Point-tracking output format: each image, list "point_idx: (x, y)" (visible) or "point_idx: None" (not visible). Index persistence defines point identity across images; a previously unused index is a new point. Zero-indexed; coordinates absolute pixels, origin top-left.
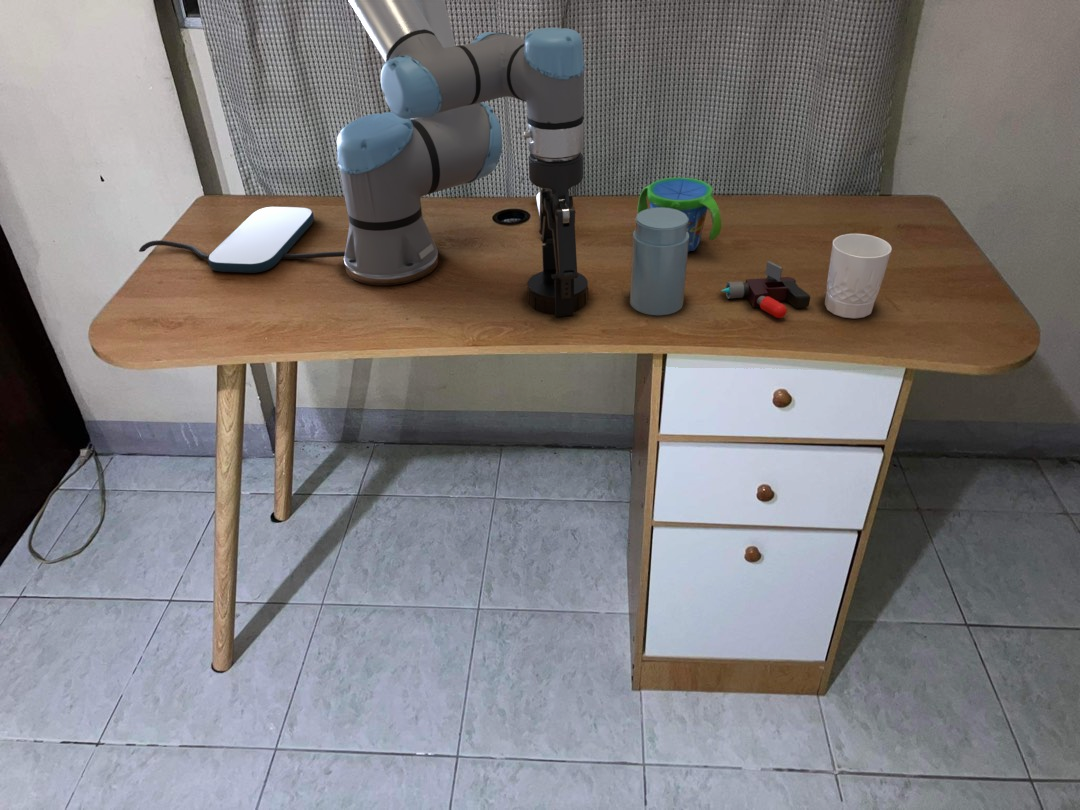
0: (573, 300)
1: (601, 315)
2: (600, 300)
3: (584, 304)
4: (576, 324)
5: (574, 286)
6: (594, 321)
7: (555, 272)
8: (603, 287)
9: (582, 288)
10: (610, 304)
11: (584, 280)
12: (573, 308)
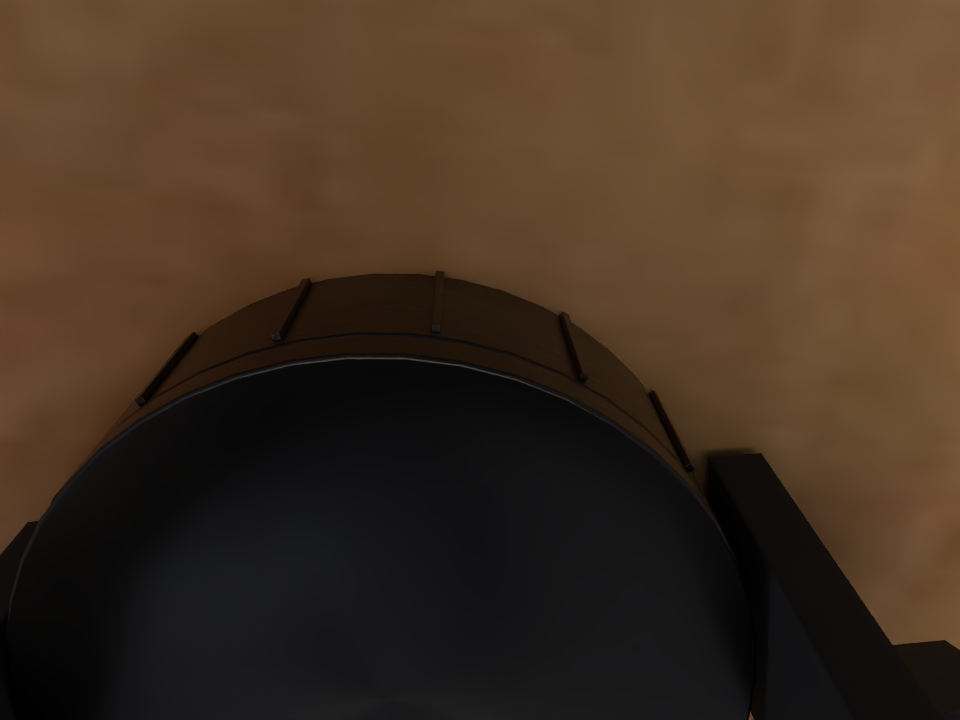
0: (821, 551)
1: (811, 166)
2: (463, 129)
3: (579, 333)
4: (915, 436)
5: (517, 531)
6: (914, 259)
7: (108, 703)
8: (124, 42)
9: (593, 444)
10: (579, 17)
11: (354, 394)
12: (788, 495)
